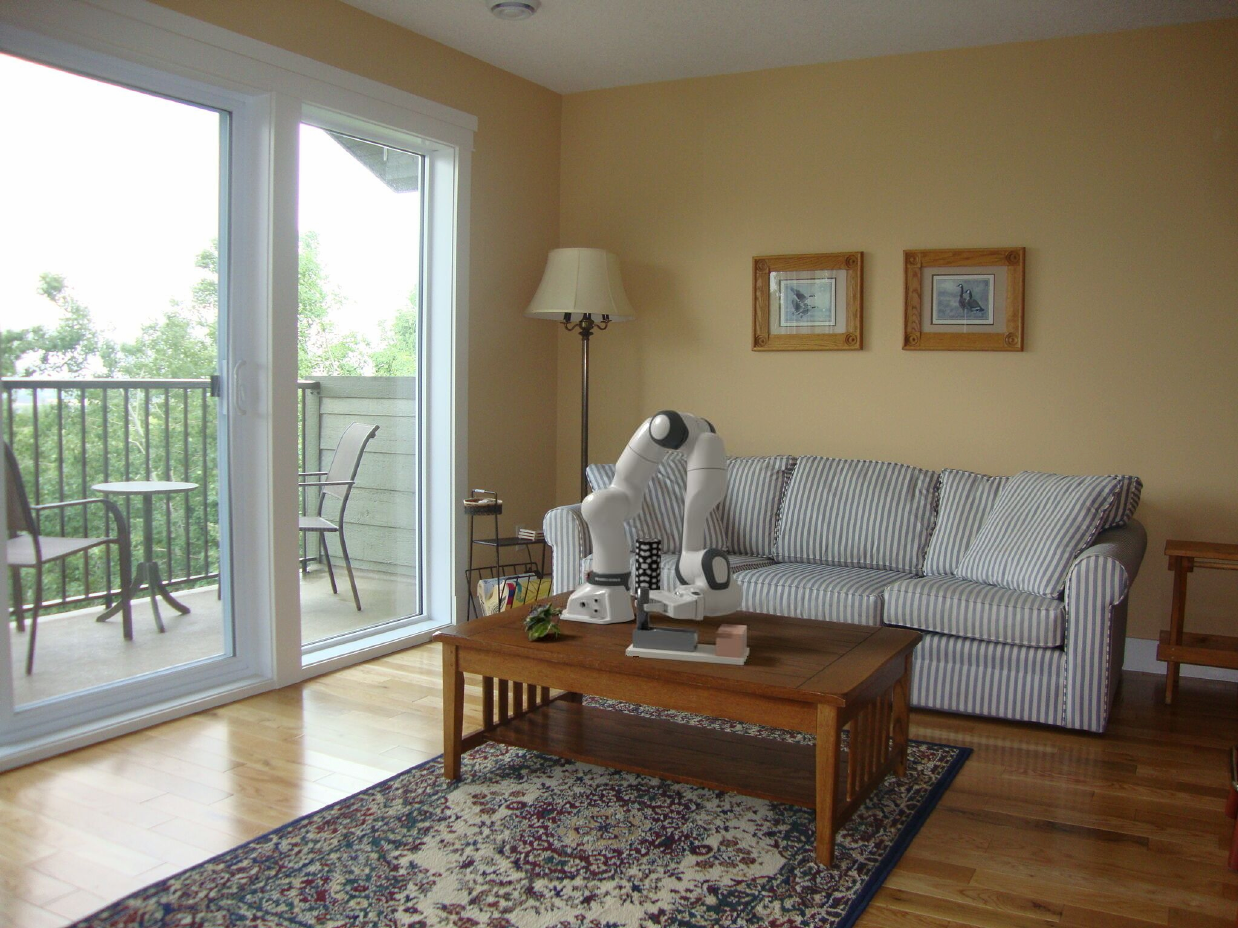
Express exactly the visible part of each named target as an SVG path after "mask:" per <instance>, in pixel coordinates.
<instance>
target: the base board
mask: <svg viewBox="0 0 1238 928" xmlns="http://www.w3.org/2000/svg"><path fill="white" fill-rule="evenodd" d="M749 654H750V647H746V650H745V652H744V654H743V656H742V658H735V657H722V656H716V644H715V645H714V644H704V643H703V644H702V643H698V647H697V648H696V650H695V651H694V652H685V651H672V650H659V649H646V648H633V642H632V643H631V644H630V645H629V646H628V647H627V648H626V649H625V656H626V655H627V656H626V657H633V656H639V657H638V658H649V659H657V660H658V659H659V660H672V661H673V660H674V661H684V662H686V661H687V662H695V663H696V662H699V663H709V664H711V663H712V664H721V665H722V664H724V665H737V666H744V665H745V663H746V660H747V659H748V657H749ZM747 656H748V657H747ZM744 662H745V663H744Z"/></svg>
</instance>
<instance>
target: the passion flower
mask: <svg viewBox="0 0 1238 928" xmlns="http://www.w3.org/2000/svg"><path fill="white" fill-rule="evenodd" d="M554 608H555V606H554V605H553V603H552V602H551V601H550V602H549V603H548V604H543V603H535V605H533V604H532V605H531V606H530V609H529V615H527V617H526V619H525V620H526V621H523V625H524V626H526V628H525V631H524V632H526V633H528V632H529V634H528V639H529V641H530V642H532V640H535V639H537V638H539V637H540V638H542V637H544V636H545V635H548V632H549V631H551V630H553V631H554V633H555V639H556V638H557V637H558V634H562V631H561V630H560V628H559V624H560V620H561V619H560V617H561V615H562V612H563V608H562V607H561V606H560V607H557V608H555V610H556V611H554ZM559 614H560V616H559ZM556 616H557V617H558V620H557V622H556V623H555V622H554V621H553V618H554V617H556ZM557 639H558V638H557Z"/></svg>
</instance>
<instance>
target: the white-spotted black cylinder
mask: <svg viewBox="0 0 1238 928" xmlns="http://www.w3.org/2000/svg"><path fill="white" fill-rule="evenodd" d="M634 557H635V559H634V560H635V563H634V565H635V566H634V568H635V570H634V571H635V572H634V602H635V601H636V600H637V588H639V587H647V588H650V590H662V589H661V587H662V586H661V578H662V577H661V576H662V575H661V574H662V539H659V538H654V537H653V538H652V537H651V538H647V537H646V538H645V537H644V538H643V537H642V538H641V537H640V538H636V539H635V556H634Z"/></svg>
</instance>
